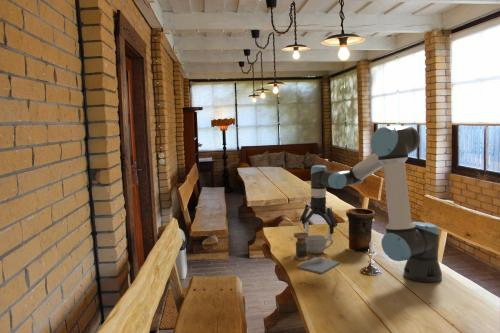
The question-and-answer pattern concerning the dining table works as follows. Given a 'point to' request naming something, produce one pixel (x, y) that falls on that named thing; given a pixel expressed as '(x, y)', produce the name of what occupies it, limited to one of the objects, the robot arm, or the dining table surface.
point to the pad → (318, 265)
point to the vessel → (359, 229)
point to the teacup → (317, 243)
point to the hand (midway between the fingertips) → (318, 237)
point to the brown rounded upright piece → (301, 247)
